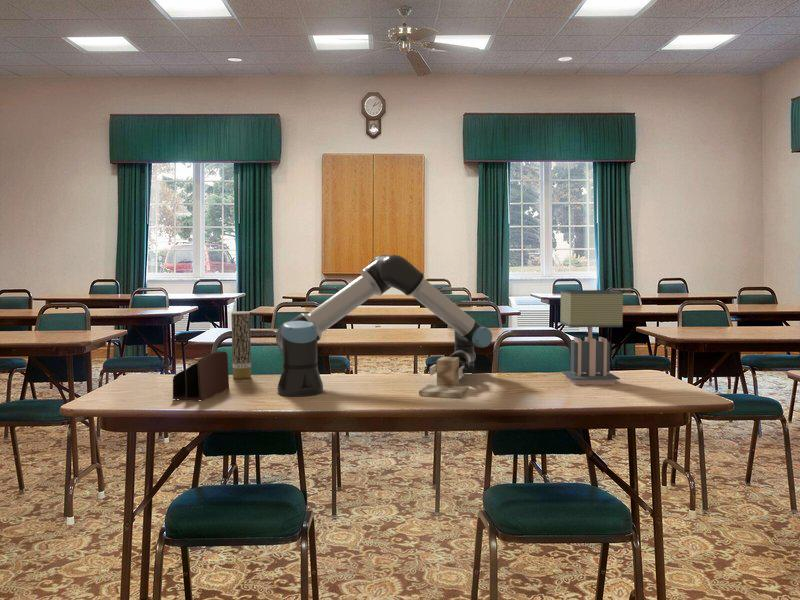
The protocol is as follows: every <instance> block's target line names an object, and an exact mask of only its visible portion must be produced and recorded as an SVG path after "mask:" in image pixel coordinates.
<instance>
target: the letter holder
mask: <svg viewBox="0 0 800 600" xmlns="http://www.w3.org/2000/svg"><path fill="white" fill-rule="evenodd" d="M228 357H229V355H228V353H227V351H216V352H212V353H209V354H207V355H205V356H203V357H201V358H199V359H198V361H197V362H196V363H193V364H192V365H190V366H188V367H187V368H186V369H183V370H181V371H179V372H177V373H176V374H174V376H173V377H172V400H173V399H179V400H178V401H180V400H202V401H205V400H206V398H207V399H209V398H211V397H213V395H214V396H216V395H218V394H220V393H223V392H225V391H227V390H230V381H229V380H230V378H229V374H230V373H229V358H228ZM226 389H227V390H226ZM224 390H225V391H224ZM222 391H223V392H222ZM217 393H218V394H217ZM215 394H216V395H215ZM208 397H209V398H208ZM204 399H205V400H204Z"/></svg>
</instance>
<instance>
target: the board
mask: <svg viewBox="0 0 800 600" xmlns="http://www.w3.org/2000/svg"><path fill="white" fill-rule="evenodd" d="M467 391H468V392H469V386H460V385H459V386H445V385H437V384H427V385H425V386H424V387H422V388H420V390H419V391H418V396H419V395H423V397H435V396H436V398H437V397H439V398H451V397H452V398H454V399H462V398H463V397H464V396H465V395H464V394H465V393H466V392H467ZM468 392H467V393H468ZM467 393H466V394H467ZM463 395H464V396H463Z"/></svg>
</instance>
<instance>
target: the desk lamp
mask: <svg viewBox="0 0 800 600" xmlns="http://www.w3.org/2000/svg"><path fill="white" fill-rule="evenodd" d="M623 310H624V291H618V290H614V289H613V290H612V289H592V290H591V289H587V290H586V289H584V290H583V289H581V290H579V289H578V290H577V289H574V290H572V289H567V290H565V289H564V290H563V289H562V290H560V312H559V313H560V315H559V316H560V318H559V319H560V320H559V321H560V323H559V324H561V325H562V326H566V327H568V328H588V334H587V335H588V336H585V337H584V340H582V338H580V337H576V336H574V337H573V340H570V371H569V370H567V371H565V370H563V371H561V374H563V375H565V379H566V380H568V382H570V383H572V384H573V385H574V384H575V386H582V385H581V384H595V386H598V385H599V386H600V385H603V386H604V385H605V386H609V385H616V380H617V381H618V380H620V379H621V378H620V377H619V376H616V375H615V374H613V373H611V372H610V371H611V369H610V368H611V365H610V363H611V342H610V341H608V339H607V338H605V337H602V336H598V340H597V339H596V338H595V337H593V328H623V326H624V325H623V323H624V322H623V318H624V311H623Z"/></svg>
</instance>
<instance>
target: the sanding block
mask: <svg viewBox="0 0 800 600" xmlns="http://www.w3.org/2000/svg"><path fill="white" fill-rule="evenodd" d="M436 361H437V371H436V385H445V386H458V385H459V386H460V377H458V369H459V357H449V356H441V357H439V358H438V359H436Z"/></svg>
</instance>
